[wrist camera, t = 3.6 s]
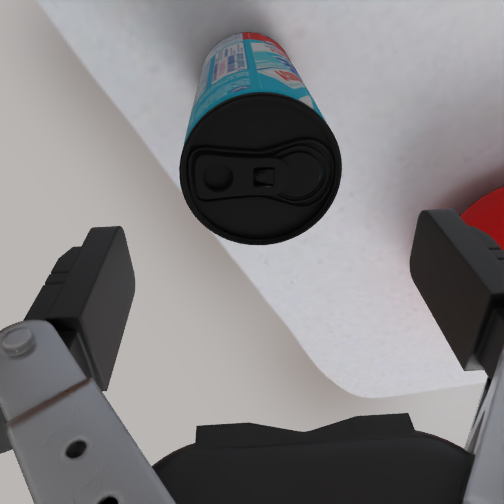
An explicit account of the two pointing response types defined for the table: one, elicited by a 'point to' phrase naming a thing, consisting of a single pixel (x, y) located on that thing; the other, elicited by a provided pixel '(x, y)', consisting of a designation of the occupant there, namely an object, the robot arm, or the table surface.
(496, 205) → the tomato
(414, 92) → the table surface
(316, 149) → the beverage can
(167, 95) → the table surface
